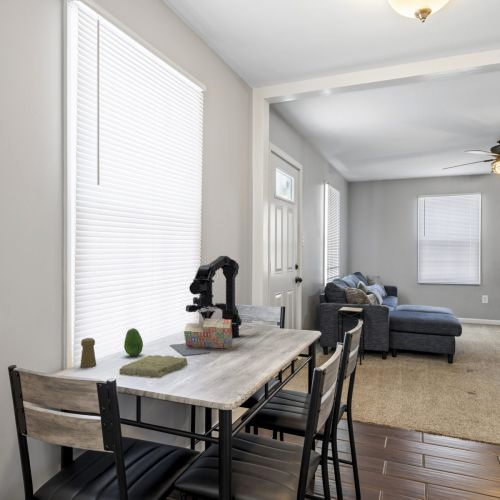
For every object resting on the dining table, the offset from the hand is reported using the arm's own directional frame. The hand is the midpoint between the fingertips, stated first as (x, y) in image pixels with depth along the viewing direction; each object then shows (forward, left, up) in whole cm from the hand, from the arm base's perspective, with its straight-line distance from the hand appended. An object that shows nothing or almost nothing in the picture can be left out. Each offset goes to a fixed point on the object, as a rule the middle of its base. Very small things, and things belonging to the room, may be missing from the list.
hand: (206, 325), depth 193 cm
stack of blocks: (-1, 0, -9) cm, 9 cm away
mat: (+9, 0, -10) cm, 13 cm away
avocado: (+34, 0, -10) cm, 35 cm away
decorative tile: (+30, +25, -11) cm, 40 cm away
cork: (+53, +8, -10) cm, 54 cm away
